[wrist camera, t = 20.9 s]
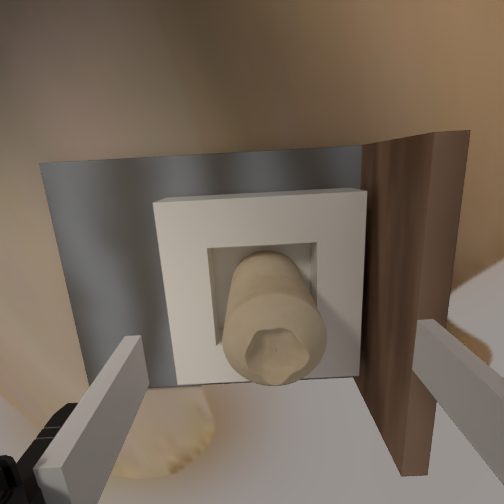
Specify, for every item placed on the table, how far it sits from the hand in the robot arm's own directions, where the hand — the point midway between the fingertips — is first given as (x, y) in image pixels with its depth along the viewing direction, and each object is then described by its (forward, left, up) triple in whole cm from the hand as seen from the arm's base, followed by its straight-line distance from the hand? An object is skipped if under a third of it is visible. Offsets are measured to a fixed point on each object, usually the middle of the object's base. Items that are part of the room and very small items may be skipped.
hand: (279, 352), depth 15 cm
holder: (0, 0, -11) cm, 11 cm away
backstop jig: (-4, 0, -12) cm, 12 cm away
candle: (0, 0, -10) cm, 10 cm away
